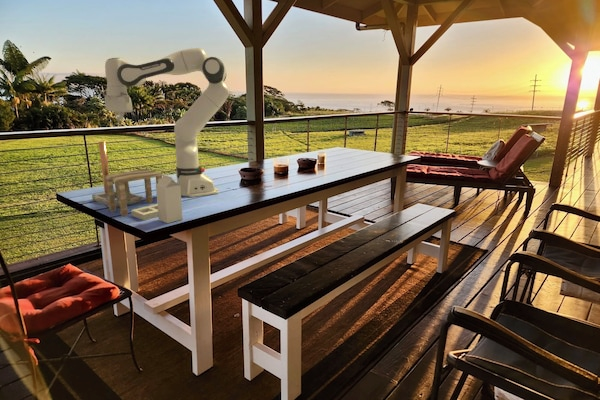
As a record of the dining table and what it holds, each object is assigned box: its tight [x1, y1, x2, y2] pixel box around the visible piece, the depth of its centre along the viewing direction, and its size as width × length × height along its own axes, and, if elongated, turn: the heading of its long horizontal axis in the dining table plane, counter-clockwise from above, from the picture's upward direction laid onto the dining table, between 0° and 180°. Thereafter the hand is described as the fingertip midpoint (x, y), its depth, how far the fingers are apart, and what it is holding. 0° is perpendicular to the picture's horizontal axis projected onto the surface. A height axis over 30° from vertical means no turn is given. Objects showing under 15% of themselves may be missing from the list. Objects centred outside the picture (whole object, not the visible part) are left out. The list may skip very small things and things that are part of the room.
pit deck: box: [130, 203, 159, 221], centre depth 170 cm, size 10×14×2 cm
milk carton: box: [155, 174, 183, 224], centre depth 161 cm, size 7×7×19 cm
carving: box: [114, 181, 131, 201], centre depth 183 cm, size 6×8×12 cm
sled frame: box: [91, 141, 143, 208], centre depth 184 cm, size 20×14×28 cm
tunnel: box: [105, 168, 164, 217], centre depth 175 cm, size 13×20×16 cm, turn 142°
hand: (120, 120), depth 196 cm, fingers closed
